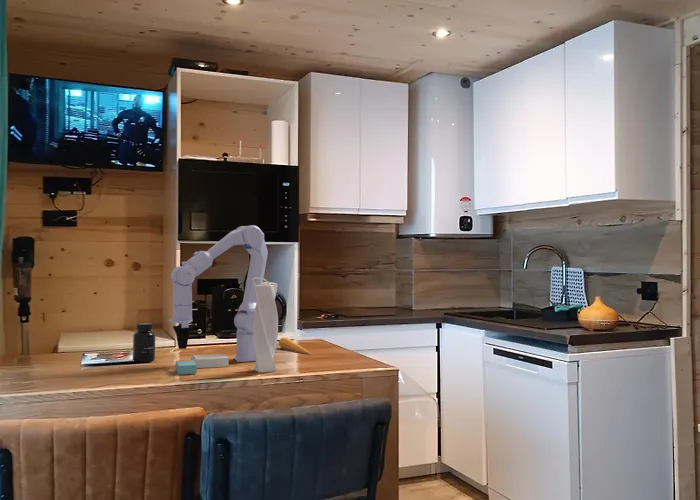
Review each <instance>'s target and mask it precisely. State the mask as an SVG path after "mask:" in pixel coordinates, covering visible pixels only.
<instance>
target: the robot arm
mask: <svg viewBox="0 0 700 500" xmlns="http://www.w3.org/2000/svg"><path fill="white" fill-rule="evenodd" d="M234 246H241V247H243V248H244V249H245V250H246V251H247V253H248V254H249V255H250V260H249V266H248V270H247V277H246V283H245V287H244V294H243V297H242V298H243V300H242V303H241V304H240V306H239V307H238V311H237V313H236V314H235V316H234V320H233V323H234V326H235V328H236V349H235V350H236V353H235V354H236V356H233V359H234V360H235V361H237V362H238V363H239V362H242V363H243V362H256V360H257V359H256V353H255V346H254V335H253V321H254V312H255V307H256V303H257V299H256V293H255V287H254V283H253V280H252V279H253V278H254V277H260V278H264V276H265V270H266V266H267V260H268V254H269V251H268V248H267V244H266V241H265V233H264V232H263V231H262V230H261V229H260V227H258V226H257V225H254V224H253V225H252V224H251V225H245V226H244V225H241V226H238V227H237V228H236V229H233V230H231V231H230V232H229V233H227V234H226V235H225V236H224V237H222V238H221V239H220V240H219V241H218V242H216V243H215V244H214V245H213V246H212V247H210V248H209V249H208V250H207V251H205V250H199V251H195V252H194V253H193V256H192V257H190V258H189V259H188V260H186V261H181V264H182V265H181V266H176V267H174V268H173V270H172V272H171V274H170V280H171V282H173V283H172V288H173V289H172V318H170V319H168V322H169V323H176V324H178V325H172V328H173V330H174V333H175V336H176V342H177V346H178V349H179V350H184V349H187V347H188V342H189V336H190V334H191V332H192V330H193V326H192V324H190V323H192V322H193V289H192V288H193V285H192V284H193V283H194V281H195V278H196V277H198V276H199V275H201V274H202V273H203V272H204V271H206V270H207V269H208V268H210V267H211V266H212V265H213V261H214V259H215V258H217V257H218V256H220V255H221V254H223V253H224V252H226V251H228V250H229V249H231V248H232V247H234ZM264 279H265V278H264ZM254 281H255V285H261V282H264V280H261V279H254Z"/></svg>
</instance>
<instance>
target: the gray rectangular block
mask: <svg viewBox="0 0 700 500" xmlns="http://www.w3.org/2000/svg"><path fill="white" fill-rule="evenodd" d="M191 360H193V361H194V362H195V364H196V365H197V367H196V369H203V368H204V369H205V368H208V369H209V368H222V367H223V368H225V367H226V366H227V367H229V357H228V356H227V355H226V354H225V353H215V354H213V353H212V354H210V353H209V354H191V355H190V361H191Z"/></svg>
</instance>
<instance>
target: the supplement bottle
mask: <svg viewBox="0 0 700 500" xmlns="http://www.w3.org/2000/svg"><path fill="white" fill-rule="evenodd" d="M153 329H154V328H153V323H150V322H149V323H147V322H144V323H137V324H136V330H137V331H136V332H134V334H133V335H132V337H133V339H132V361H133V360H134V361H137V362H136V363H150V362H151V363H152V362H154V361H155V359H156V357H155V356H156V333H155V332H154V331H153ZM134 361H133V362H134Z"/></svg>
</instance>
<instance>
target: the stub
mask: <svg viewBox="0 0 700 500" xmlns="http://www.w3.org/2000/svg"><path fill="white" fill-rule="evenodd" d="M196 367H197V365H196V364H195V362H194V361H193V360H191V359H190V360H176V361H175V371H176V373H177V374H178V376H179V375H195V374H197V368H196Z"/></svg>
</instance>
